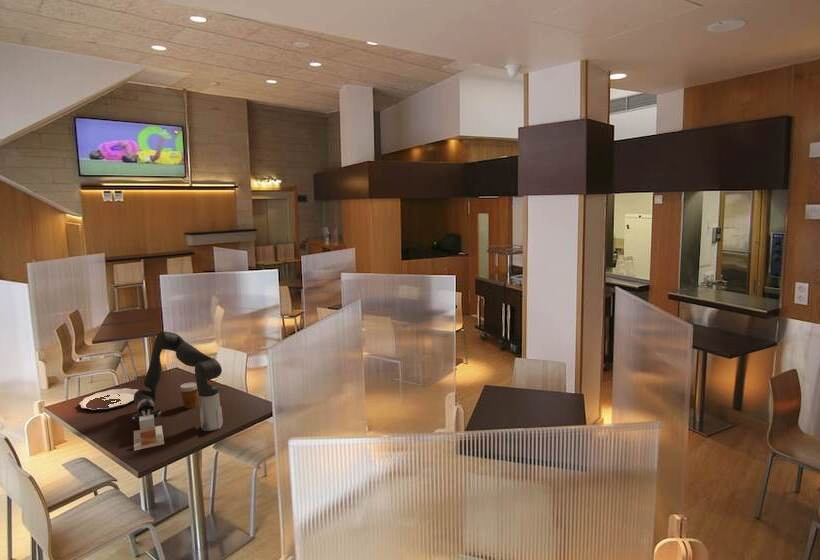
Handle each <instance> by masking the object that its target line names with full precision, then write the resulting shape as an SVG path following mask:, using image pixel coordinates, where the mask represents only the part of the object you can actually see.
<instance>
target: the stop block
mask: <svg viewBox="0 0 820 560" xmlns="http://www.w3.org/2000/svg"><path fill="white" fill-rule="evenodd" d="M140 435H141V444H142V445H147V444H151V443H156V432H155V428H153V429H148V430H143V431H140Z"/></svg>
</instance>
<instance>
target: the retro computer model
mask: <svg viewBox="0 0 820 560" xmlns="http://www.w3.org/2000/svg"><path fill="white" fill-rule="evenodd" d="M138 422H139V430H140V431H143V430H148V429H153V428H155V427H156V425H155V419H154V414H151V415H146V416H141V417H139V421H138Z"/></svg>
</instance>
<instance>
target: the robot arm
mask: <svg viewBox="0 0 820 560" xmlns="http://www.w3.org/2000/svg"><path fill="white" fill-rule="evenodd" d="M162 350H166V351H172V352H175V354H176V355H175V356H176V359H177V360H178V361H180V362H181V363H182V364H183V365H186V366H188V367H192V368H193V367H194V376H195V381H196V383H197V389H198V395H199V398H198V405H199V406H198V408H199V415H200V427H201V430H202V431H204V432H212V431H216V430H220V429H221V427H222V426H223V424H224V423H223V422H224V419H223V411H222V410H223V408H222V405H221V403H220V401H221V400H220V388H219V386H218V385H217V384H213V383H211V384H210V383H209V384H208V381H210V380H213V379H216V378H219V377H220V376H221V375H222V372H223V370H222V366H221V363H220V362H219V361H218V360H217V359H215V358H213V357H211V356H210V355H209V356H208V355H207V354H205V353H204V352H201V351H200V350H198V349H197V347H195V346H193V345H192V344H189V342H186V341H185V340H184V339H183V338H182V337H181V336H180V335H179V334H177V333H176V332H175V333H174V332H169V331H159V332H158V333H157V334H156V336H155V339H154V343H153V346H152V350H151V351H152V352H151V355H150V361H149V366H148V369H147V372H146V374H145V378H144V380H143V383H142V384H143V386H144V387H146V388H148V389H150V391H149V390H146V389H145V390H144V389H137V390H138V391H137V392H136V393H135V394H134V401H133V403H134V404H135V405H136V406H137V408H136V409H137V411H136V414H135V413H132V415H131V420H132V421H135V422H139V417H141V416H146V415H151V414H154V420H155V419H156V418H158V417H159V416H161V414H162V412H161V409H155V402H156V401H157V391H158V390H157V389H158V385H159V383H160V380H161V377H162V374H163V368H162V363H161V353H162Z"/></svg>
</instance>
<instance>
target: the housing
mask: <svg viewBox="0 0 820 560" xmlns="http://www.w3.org/2000/svg"><path fill="white" fill-rule="evenodd" d="M155 432H156V443H151V444H147V445H142V444H141V435H140V429H138V430H133V451H138V450H139V451H140V450H142V449H147V448H152V447H153V448H154V447H156V446H162V445H165V439H164V433H163V426H162V425H157V426H156V425H155Z"/></svg>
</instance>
